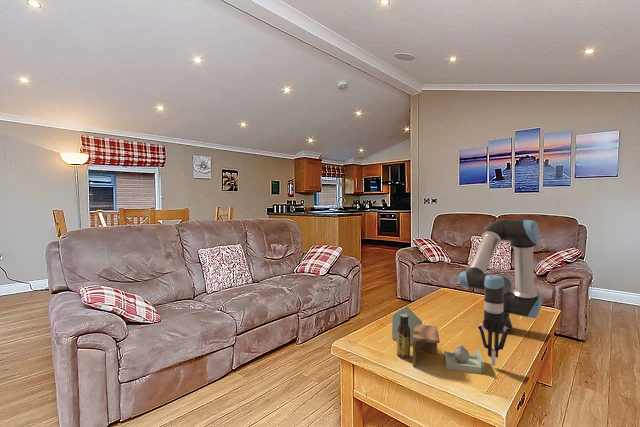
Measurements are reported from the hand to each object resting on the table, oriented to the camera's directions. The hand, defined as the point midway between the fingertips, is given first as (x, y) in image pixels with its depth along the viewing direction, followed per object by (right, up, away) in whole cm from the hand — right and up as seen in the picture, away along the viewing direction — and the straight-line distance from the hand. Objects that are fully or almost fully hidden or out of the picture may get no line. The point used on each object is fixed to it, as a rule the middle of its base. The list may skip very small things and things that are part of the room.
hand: (492, 363), depth 145 cm
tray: (-12, -2, +3) cm, 12 cm away
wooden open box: (-27, -2, +8) cm, 28 cm away
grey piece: (-29, -1, +28) cm, 41 cm away
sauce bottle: (-36, -2, +12) cm, 38 cm away
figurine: (-12, -1, +4) cm, 13 cm away
